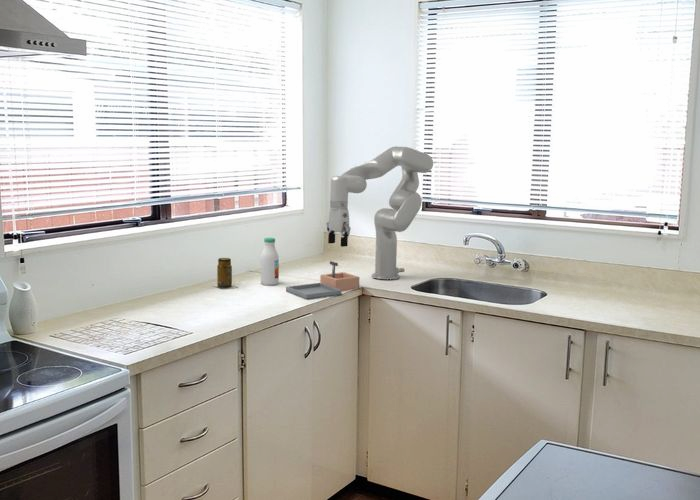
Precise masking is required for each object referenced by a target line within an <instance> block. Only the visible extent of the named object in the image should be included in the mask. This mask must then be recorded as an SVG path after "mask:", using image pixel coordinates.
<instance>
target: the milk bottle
mask: <svg viewBox="0 0 700 500" xmlns="http://www.w3.org/2000/svg"><path fill="white" fill-rule="evenodd" d="M263 242H264V247H263V249H262V253H261V254H260V255H261V256H260V284H261V285H263V286H276V285H278V284H279V281H280V280H279V279H280V278H279V275H280V272H279V271H280V269H279V268H280V265H279V264H280V263H279V253H278V251H277V249H276V247H275V244H276V238H275V237H265V238H264V240H263Z"/></svg>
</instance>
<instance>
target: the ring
mask: <svg viewBox="0 0 700 500" xmlns="http://www.w3.org/2000/svg"><path fill="white" fill-rule="evenodd" d="M319 278H320V282H319V283H322V284H325V285H328V286H331V287H334V288H337V289H340V290H342V291H343V290H344V291H350V289H352V290H358V289H360V276H358V275H355V274H351V273H348V272H344V271H343V272H335V278H333V277H332V273H324V274H320V275H319ZM342 291H341V292H342ZM344 291H343V292H344Z"/></svg>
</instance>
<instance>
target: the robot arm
mask: <svg viewBox="0 0 700 500" xmlns="http://www.w3.org/2000/svg"><path fill="white" fill-rule="evenodd" d="M433 166H434V160H433V158H432V156H431V155H430V154H428V153H426V152H423V151H419V150H416V149H414V148H411V147H408V146H395V145H394V146H391V147H389V148H388V149H386V150H385V151H383V152H382V153H380V154H379V155H377V156H376V157H374V158H372V159H371V160H368V161H366V162H363V163H361V164H359V165H356V166H354V167H351V168H350V169H348V170H347V171H345V172H344V173H342V174H341V175H334V176H331V178H330V193H329V194H330V198H329V203H330V204H329V213H328V214H329V215H328V221H327V222H326V229H327V235H328V237H327V238H328V239H327V244H335V243H336V233H340V236H341V237H340V247H342V248H343V247H345V248H346V247H348V243H349V242H348V241H349V240H348V239H349V235H350V233H351V229H352V227H350V213H349V209H348V206H349V193H350V194H352V193H353V194H361V193H364V191H365V190H366V189H367V187H368V186H367V185H368V183H367V181H368V180H372V179H378V178H381V177H384V176H385V175H386V174H388V173H389V172H390V171H392V170H394V169H395V168H396V167H401V171H402V177H401V180H400V181H399V183H398V185H397V186H396V187H395V190H393V192H392V194H391V195H390V196H389V200H388V204H389V207H390V208H388V207H385V208H384V207H383V208H380V209H378V210H377V211H376V212H375V214H374V219H373V220H374V229H375V265H374V268H375V269H374V273H372V274H371V278H372V277H373V279H374V278H377V279H376V280H379V279H387V280H386V281H392V280H391V279H395V280H398V279H400V274H399V273H405V268H404V267H401V268H400V267H397V255H398V251H397V250H398V248H397V247H398V238H397V233H402V232H405V231H406V230H407V229H408V228H409V227H410V225H411V224H412V222H413V221H414V220H415V217H416V216H417V214H418V213H419V212H420V209H421V207H422V196H421V195H420V194H419V193H418V191H417V190H418V188H419V186H420V180H419V179H420V178H419V174H420V173H421V174H422V173H423V174H426V173H429V172H430V171H431V170H432V169H433ZM418 173H419V174H418ZM396 232H397V233H396ZM388 279H390V280H388Z"/></svg>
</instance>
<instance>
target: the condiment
mask: <svg viewBox="0 0 700 500" xmlns="http://www.w3.org/2000/svg"><path fill="white" fill-rule="evenodd" d="M231 260H232V259H231V258H230V257H220V258H217V261H218V262H217V267H216V268H217V270H216V271H217V273H216V275H217V276H216V277H217V281H216V282H217V284H214V285H212V286H213V287H216V288H219V289H222V290H228V289H235V288H237V286H236V285H233V284H232V283H233V267H232V261H231Z"/></svg>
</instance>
